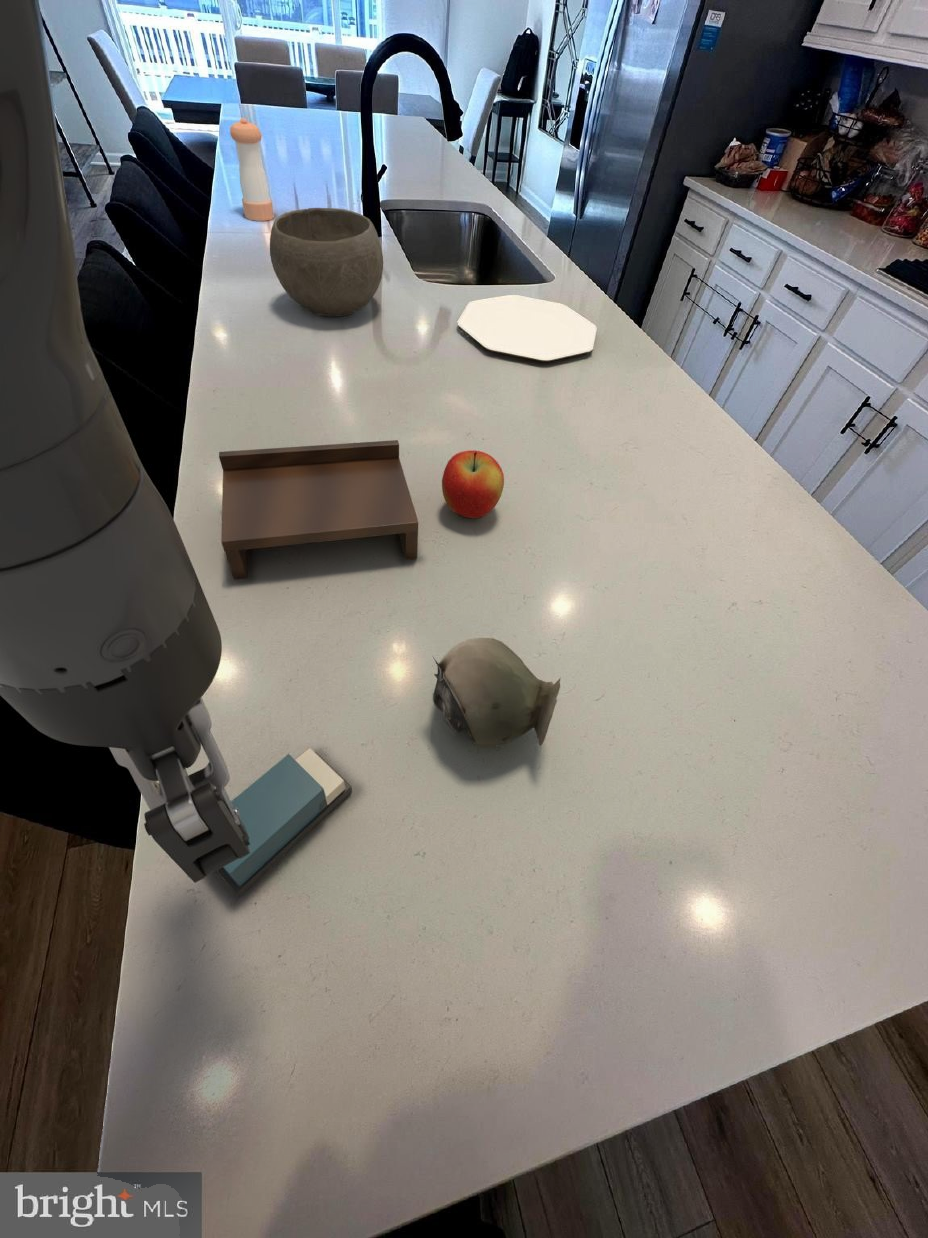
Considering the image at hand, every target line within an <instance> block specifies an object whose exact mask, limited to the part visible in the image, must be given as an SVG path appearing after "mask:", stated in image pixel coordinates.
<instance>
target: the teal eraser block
mask: <svg viewBox="0 0 928 1238" xmlns="http://www.w3.org/2000/svg"><path fill="white" fill-rule="evenodd" d="M352 792H353V788H352V785H351V784H350V783H349V782H347V780H346V779H344V778H343V777H342V775H340V774H339V773H338V772H337V771H336V770H335V769H334V768H333V767H332V766H331V765H330V764H329V763H328V762H327V761H326V760H325V759H324V758H323V757H321V755H319V754H318V752H317V751H314V750H313V749H312V748H308V749H307V750H305V751H304V752H302V754H301V755H299V756H297V757H296V759H295V758H294V757H293V756H292V755H290V754H289V753H288V754H287V755H285V756H284V757H283V758H282V759H281V760H279V761H278V762H277V763H276V764H275V765H273V766H272V767H271V768H270V769H269V770H267V771H265V773H264V774H262V775H261V776H259V778H257V779H256V780H255V781H254V782H253V783H251V784H250V785H249V786H248V787H247V788H245V789H244V790H243V791H242V792H241V793H240V794H238V795H237V796H235V798H234V799H232V800H230V801H231V803H232V805H233V807H235V806H236V807H237V809H238V811H239V814H240V816H238V817H239V818H240V820H241V822H242V823H243V825H244V826H245V829H246V831H247V834H248V836H249V842H250V845H248V848H249V851H250V854H248V855H246V856H244V857H242V858H241V859H239V858H238V859H237V860H235V861H233V862H231V863H229V864H227V865H225V866H224V867H222V868H220V869H218V870H216V871H215V872H217V873H218V874H219V876H220V877H221V878H222V879H223V880H224V882H225V883H226V884H227V885H228V887H229V888H230V889H231V890H232V891H233V892H234V893H235V895H236V896H237V897H238V898H241V897H242V896H243V895H244V894H245V893H246V892H247V891H248V890H250V888H251V887H253V886H254V885H255V884H256V883H257V882H258V881H259V880H260V879H261V878H262V877H263V876H265V874H266V873H267V872H269V871H270V869H272V868H273V867H274V866H275V865H276V864H277V863H278V862H279V861H280V860H281V859H282V858H284V856H285V855H286V854H287V853H289V852H290V851H291V850H292V849H293V848H294V847H295V846H296V845H297V844H298V843H299V842H301V841H302V839H303V838H305V837H306V836H307V835H308V834H309V833H310V832H311V831H312V830H314V828H315V827H316V826H317V825H319V823H321V822H322V820H324V819H325V817H327V816H328V815H329V814H330V813H331V812H332V811H333V810H334V809H335V808H337V806H339V805H340V804H341V803H342V802H343V801H344V800H345V799H346V798H347V797H348V796H349V795H351V793H352Z"/></svg>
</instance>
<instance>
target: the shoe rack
mask: <svg viewBox="0 0 928 1238" xmlns="http://www.w3.org/2000/svg"><path fill="white" fill-rule="evenodd" d="M218 459H219V462H220V465H221V469H222V494H221V497H222V498H221V502H222V503H221V538H220V540H221V545H222V548H223V551H224V554H225V557H226V561H227V563H228V566H229V569H230V572H231V575H232V579H234V580H239V579H246V578H248V554H247V553H248V552H247V551H248V550H254V549H263V548H264V549H265V548H275V547H283V546H291V545H301V544H303V545H304V544H312V543H323V542H332V541H342V540H351V539H361V538H370V537H371V538H372V537H380V536H389V535H398V536H399V539H400V543H401V547H402V552H403V555H404V559H405V560H406V561H407V560H415V559H418V546H419V545H418V544H419V543H418V542H419V541H418V540H419V521H418V517H417V513H416V510H415V507H414V503H413V500H412V496H411V492H410V490H409V487H408V483H407V479H406V476H405V473H404V469H403V466H402V463H401V459H400V442H399V440H398V439H393V440H392V439H391V440H377V441H362V442H349V443H348V442H347V443H336V444H335V443H333V444H316V445H303V446H302V445H301V446H289V447H288V446H286V447H285V446H284V447H271V448H257V449H243V450H229V451H228V450H226V451H218Z"/></svg>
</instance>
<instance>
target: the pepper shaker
mask: <svg viewBox="0 0 928 1238" xmlns="http://www.w3.org/2000/svg"><path fill="white" fill-rule="evenodd" d="M229 134H230V137H231V139H232V140H233V141H234V142H235V147H236V148H235V149H236V153H237V154H236V155H237V160H238V169H239V170H238V171H239V185H240V189H241V193H242V199H241V203H242V209H243V213H244V217H245V218H246V219H247V220H251V221H256V222H265V221H266V222H267V221H270V220H273V219H274V218H275V215H274V207H273V201H272V199H271V198H270V190H269V183H268V179H267V176H266V175H267V174H266V172H265V168H264V165H263V158H262V152H261V146H260V142H261V141H262V132H261V129H260V128H259V127H258V126H257V125H256V124H254V123H252V122H249V121H248V119H246V118H245V117H241V118H239V121H236V122H233V124H231V126H230V129H229Z"/></svg>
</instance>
